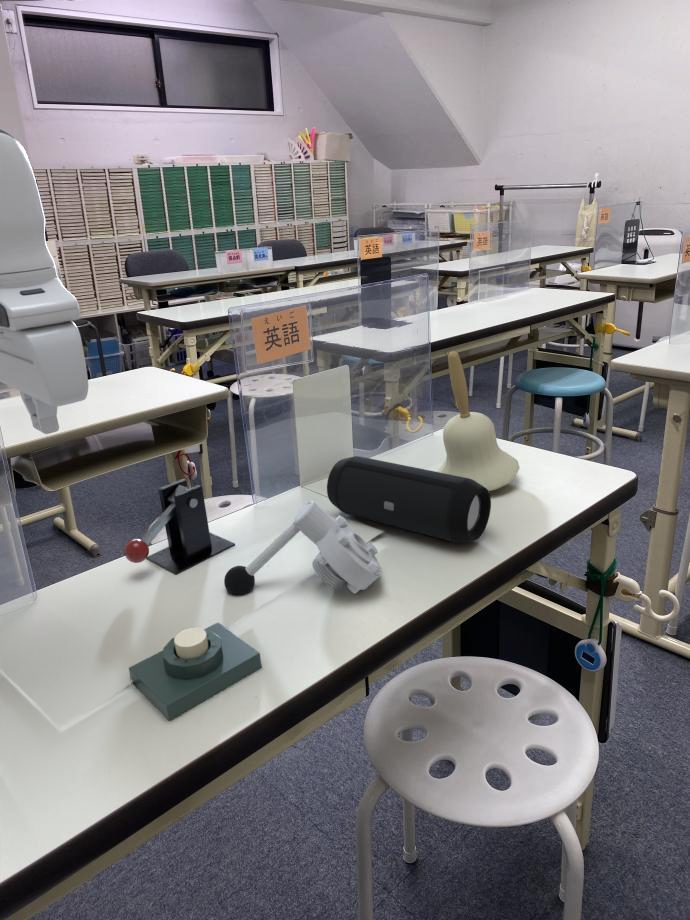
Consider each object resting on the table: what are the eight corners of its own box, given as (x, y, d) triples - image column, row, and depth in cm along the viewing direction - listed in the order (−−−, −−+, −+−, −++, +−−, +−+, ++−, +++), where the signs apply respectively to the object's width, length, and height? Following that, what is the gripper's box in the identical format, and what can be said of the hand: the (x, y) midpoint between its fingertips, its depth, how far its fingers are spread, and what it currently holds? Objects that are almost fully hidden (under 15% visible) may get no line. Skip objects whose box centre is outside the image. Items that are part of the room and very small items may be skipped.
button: (186, 664, 75) (184, 651, 75) (170, 650, 78) (168, 637, 77) (214, 649, 78) (212, 636, 77) (198, 636, 80) (195, 623, 79)
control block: (169, 722, 72) (163, 692, 71) (131, 683, 79) (125, 654, 77) (262, 668, 79) (258, 639, 78) (220, 636, 86) (216, 609, 84)
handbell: (536, 483, 119) (514, 346, 109) (455, 512, 117) (426, 375, 107) (497, 453, 133) (475, 330, 123) (425, 478, 131) (396, 355, 121)
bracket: (176, 580, 99) (163, 507, 95) (147, 564, 104) (132, 493, 100) (236, 550, 107) (226, 480, 102) (205, 536, 112) (194, 469, 108)
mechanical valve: (390, 582, 89) (308, 507, 86) (295, 668, 92) (212, 599, 89) (383, 550, 99) (309, 481, 96) (297, 628, 102) (222, 564, 99)
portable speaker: (325, 520, 114) (321, 465, 110) (360, 498, 121) (356, 445, 118) (463, 558, 99) (463, 496, 96) (493, 530, 107) (494, 471, 103)
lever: (142, 570, 97) (127, 557, 95) (129, 563, 99) (115, 550, 97) (200, 500, 102) (188, 486, 100) (187, 495, 105) (175, 481, 102)
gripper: (-47, 298, 74) (-13, 419, 79) (15, 313, 60) (51, 460, 65) (14, 290, 78) (42, 406, 83) (85, 302, 63) (114, 441, 69)
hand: (46, 430), depth 74 cm, fingers closed
